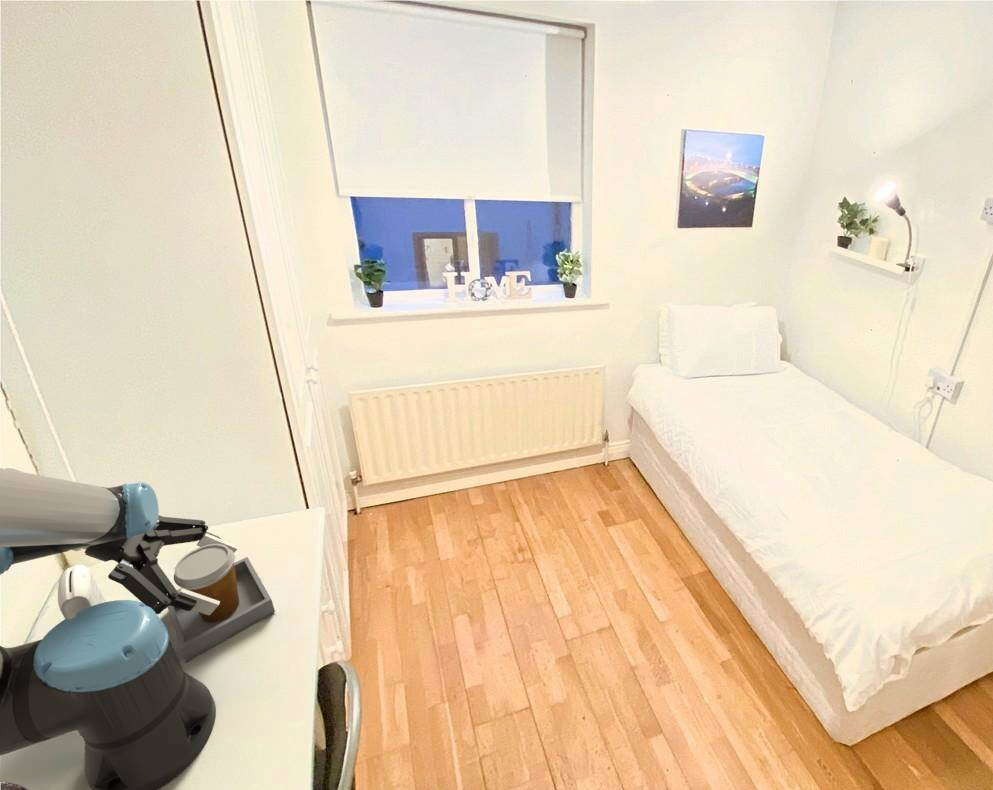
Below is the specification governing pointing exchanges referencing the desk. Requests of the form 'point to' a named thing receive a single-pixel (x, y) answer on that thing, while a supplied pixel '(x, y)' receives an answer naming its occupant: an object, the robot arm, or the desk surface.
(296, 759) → the desk surface
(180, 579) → the disposable coffee cup
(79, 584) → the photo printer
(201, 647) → the charcoal tray
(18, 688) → the robot arm
